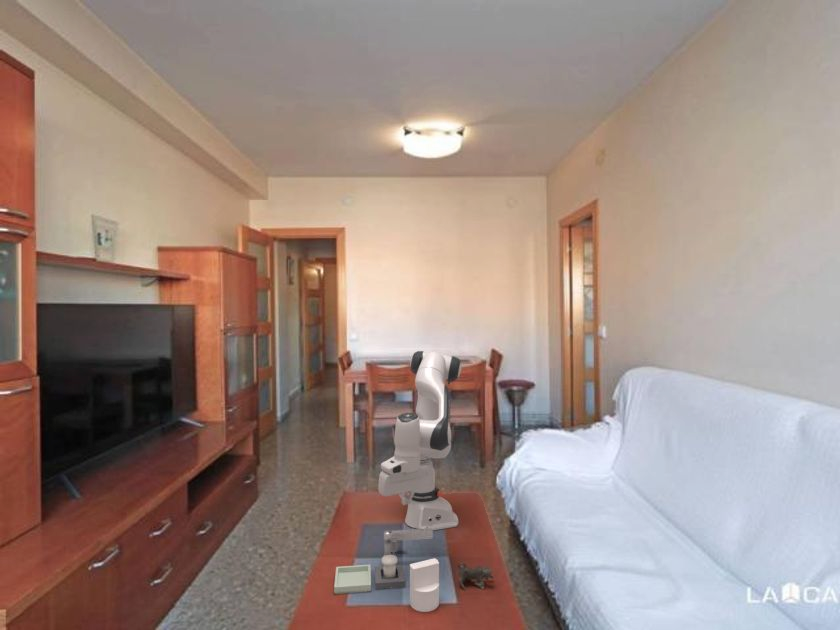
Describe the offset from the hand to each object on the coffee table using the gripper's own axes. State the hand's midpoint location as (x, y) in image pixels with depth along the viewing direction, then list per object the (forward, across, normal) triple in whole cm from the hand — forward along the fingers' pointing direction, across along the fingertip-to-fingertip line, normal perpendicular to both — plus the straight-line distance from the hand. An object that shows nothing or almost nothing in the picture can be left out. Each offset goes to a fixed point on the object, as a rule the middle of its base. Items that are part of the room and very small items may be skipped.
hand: (406, 503), depth 155 cm
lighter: (+24, -5, -15) cm, 29 cm away
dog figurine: (+24, -17, +17) cm, 34 cm away
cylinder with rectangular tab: (+25, +2, +15) cm, 29 cm away
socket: (+24, +4, -4) cm, 25 cm away
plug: (+24, +5, -1) cm, 25 cm away
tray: (+25, +16, -6) cm, 30 cm away
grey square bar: (+16, -5, -7) cm, 18 cm away
